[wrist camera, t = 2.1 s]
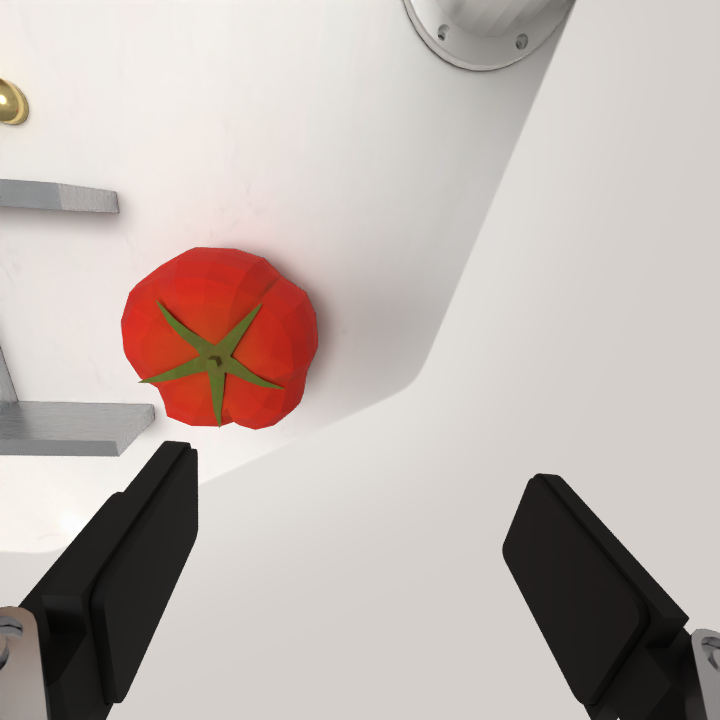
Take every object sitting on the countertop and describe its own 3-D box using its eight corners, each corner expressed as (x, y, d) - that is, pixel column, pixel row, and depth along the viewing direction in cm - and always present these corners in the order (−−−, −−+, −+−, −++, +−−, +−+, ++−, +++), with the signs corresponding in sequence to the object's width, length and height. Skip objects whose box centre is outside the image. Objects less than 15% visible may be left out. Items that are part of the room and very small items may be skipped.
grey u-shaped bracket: (115, 191, 27) (56, 183, 21) (154, 418, 34) (119, 456, 28) (-79, 177, 25) (-195, 164, 20) (5, 415, 33) (-63, 454, 27)
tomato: (136, 295, 30) (38, 331, 20) (264, 211, 28) (225, 204, 18) (236, 413, 34) (196, 489, 24) (351, 347, 32) (357, 400, 23)
